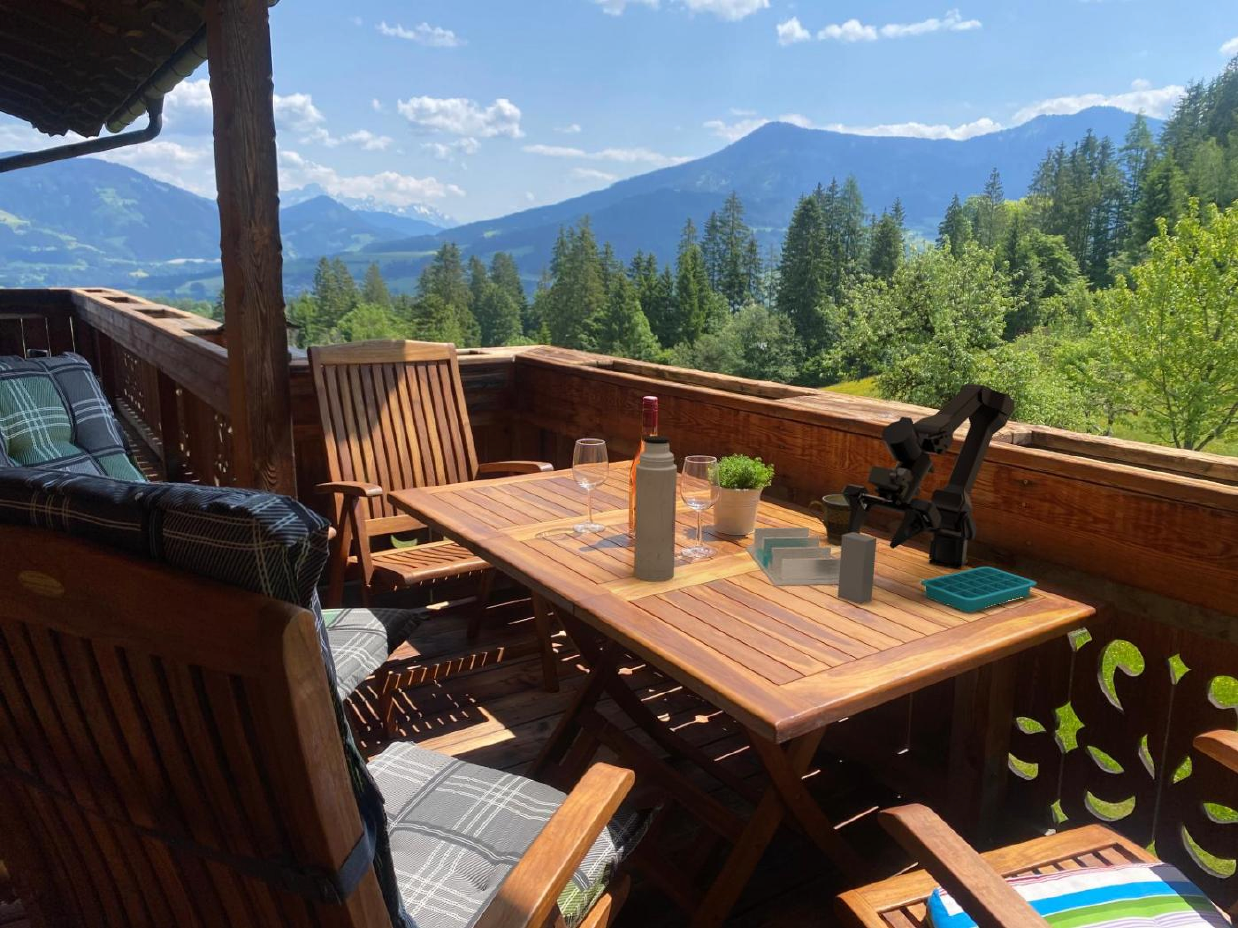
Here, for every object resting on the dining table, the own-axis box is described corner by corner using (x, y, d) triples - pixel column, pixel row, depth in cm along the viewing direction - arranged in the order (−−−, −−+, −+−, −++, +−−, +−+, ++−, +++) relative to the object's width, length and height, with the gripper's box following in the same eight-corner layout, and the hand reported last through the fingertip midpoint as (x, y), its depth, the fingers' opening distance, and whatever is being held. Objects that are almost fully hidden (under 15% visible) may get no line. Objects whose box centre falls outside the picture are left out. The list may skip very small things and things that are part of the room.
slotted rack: (812, 548, 190) (814, 526, 189) (849, 583, 167) (851, 559, 166) (746, 549, 189) (747, 527, 188) (774, 585, 166) (776, 560, 165)
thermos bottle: (676, 570, 174) (680, 434, 169) (670, 582, 167) (674, 441, 161) (637, 566, 176) (640, 432, 170) (630, 579, 168) (633, 439, 162)
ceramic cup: (860, 536, 200) (863, 495, 198) (868, 549, 190) (871, 505, 188) (804, 534, 201) (806, 493, 199) (809, 546, 191) (811, 503, 189)
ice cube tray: (916, 596, 162) (917, 581, 161) (984, 579, 172) (986, 565, 171) (968, 617, 152) (969, 601, 152) (1038, 597, 162) (1039, 582, 162)
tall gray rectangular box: (848, 592, 163) (853, 532, 160) (871, 600, 159) (876, 538, 156) (837, 596, 160) (842, 535, 158) (860, 604, 157) (865, 541, 154)
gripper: (850, 443, 167) (811, 506, 162) (939, 458, 153) (899, 527, 148) (870, 477, 173) (834, 539, 169) (957, 495, 159) (920, 562, 155)
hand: (869, 541), depth 160 cm, fingers open, 9 cm apart
